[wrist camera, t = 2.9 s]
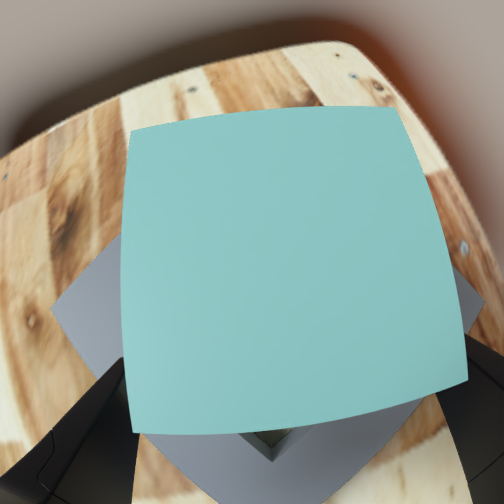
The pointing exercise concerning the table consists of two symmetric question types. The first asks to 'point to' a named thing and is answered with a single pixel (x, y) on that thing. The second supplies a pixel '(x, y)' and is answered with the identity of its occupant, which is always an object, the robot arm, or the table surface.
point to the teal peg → (282, 272)
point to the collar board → (239, 444)
